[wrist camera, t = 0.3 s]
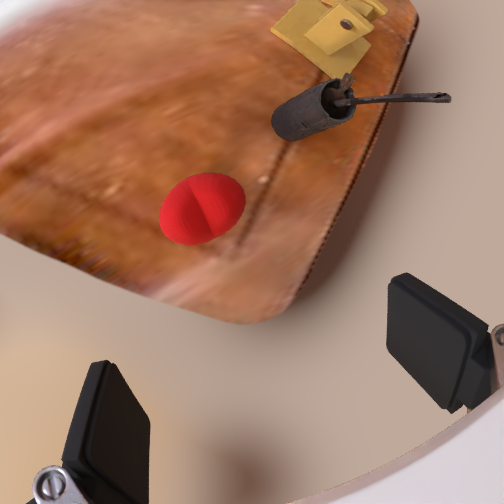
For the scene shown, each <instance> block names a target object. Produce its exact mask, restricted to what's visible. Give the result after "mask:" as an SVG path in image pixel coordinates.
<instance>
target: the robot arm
mask: <svg viewBox="0 0 504 504" xmlns="http://www.w3.org/2000/svg"><path fill="white" fill-rule="evenodd" d="M488 326H489V325H487V324H486V323H485V322H483V321H482V320H481V319H479V318H478V317H476V316H475V315H473V314H472V313H470V312H469V311H467V310H466V309H464V308H463V307H461V306H460V305H458V304H457V303H455V302H454V301H452V300H450V299H449V298H447V297H446V296H444V295H443V294H441V293H440V292H438V291H437V290H435V289H433V288H432V287H430V286H429V285H427V284H425V283H424V282H422V281H421V280H419V279H417V278H416V277H414V276H412V275H411V274H409V273H403V274H401V275H398V276H395V277H393V278H392V279H391V283H389V285H388V313H387V341H386V346H387V349H388V351H389V353H390V354H391V355H392V356H393V357H394V358H395V359H396V360H397V361H398V362H399V363H400V364H401V365H402V366H403V368H404V369H405V370H406V371H407V372H408V373H409V374H410V375H411V376H412V377H413V378H414V379H415V380H416V381H417V383H418V384H419V385H420V386H421V387H422V388H423V389H424V390H425V391H426V392H427V393H428V394H429V395H430V396H431V397H432V399H433V400H434V401H435V402H436V403H437V404H438V405H439V406H440V407H441V408H442V409H447V410H448V411H449V412H450V413H451V414H452V413H454V412H455V411H457V410H458V409H459V408H461V407H462V406H463V404H464V405H465V406H466V407H467V414H466V415H465V416H464V417H462V418H461V419H459V420H458V421H457V422H455V423H454V424H452V425H451V426H449V427H448V428H447V429H445V430H444V431H442V432H441V433H439V434H437V435H436V436H435V437H433V438H431V439H430V440H428V441H426V442H425V443H423V444H422V445H420V446H418V447H416V448H415V449H413V450H411V451H409V452H408V453H406V454H404V455H402V456H400V457H399V458H397V459H395V460H393V461H391V462H389V463H387V464H385V465H383V466H381V467H379V468H377V469H375V470H373V471H371V472H369V473H367V474H364V475H362V476H360V477H358V478H355V479H353V480H351V481H348V482H346V483H344V484H341V485H339V486H336V487H334V488H331V489H328V490H326V491H323V492H320V493H318V494H315V495H312V496H309V497H306V498H303V499H299V500H296V501H293V502H290V503H286V504H504V324H500V325H498V326H496V327H495V328H494V329H493V330H492V332H491V334H490V333H489V332H487V330H488ZM149 447H150V421H149V418H148V416H147V414H146V413H145V411H144V410H143V408H142V407H141V405H140V404H139V402H138V401H137V399H136V398H135V396H134V394H133V393H132V391H131V389H130V388H129V386H128V384H127V383H126V381H125V379H124V378H123V376H122V374H121V373H120V371H119V369H118V367H117V366H116V365H115V364H114V363H112V364H111V363H110V362H109V361H108V360H104V361H99V362H93V363H91V365H90V368H89V370H88V373H87V376H86V379H85V382H84V385H83V387H82V391H81V393H80V397H79V400H78V403H77V406H76V409H75V412H74V416H73V419H72V422H71V425H70V429H69V433H68V436H67V440H66V443H65V448H64V451H63V455H62V459H61V460H62V461H63V464H62V467H60V466H55V465H53V466H48V467H45V468H43V469H42V470H41V471H40V472H38V473H37V475H36V476H35V478H34V481H33V485H32V491H33V494H34V498H33V499H32V500H30V501H29V502H28V503H26V504H149Z"/></svg>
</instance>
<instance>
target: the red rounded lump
mask: <svg viewBox="0 0 504 504" xmlns="http://www.w3.org/2000/svg"><path fill="white" fill-rule="evenodd" d="M244 207H245V193H244V190H243V188H242V187H241V185H240V184H239V183H238V182H237V181H236V180H234V179H233V178H231V177H229V176H226V175H223V174H218V173H202V174H197V175H193V176H191V177H188V178H186V179H185V180H183V181H181V182H180V183H179V184H178V185H176V186H175V187H174V188H173V189H172V190H171V191H170V193H169V194H168V195H167V197H166V198H165V200H164V202H163V204H162V207H161V209H160V215H159V223H160V227H161V230H162V232H163V233H164V234H165V236H166V237H168V238H169V239H170V240H172V241H174V242H176V243H179V244H183V245H196V244H202V243H205V242H208V241H210V240H212V239H214V238H216V237H218V236H220V235H222V234H224V233H226V232H227V231H228V230H230V229H231V228H232V227H233V226H234V225H235V224H236V223H237V221H238V220H239V219H240V217H241V215H242V213H243V211H244Z"/></svg>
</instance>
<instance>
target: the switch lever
mask: <svg viewBox="0 0 504 504" xmlns="http://www.w3.org/2000/svg"><path fill="white" fill-rule="evenodd" d="M320 1H322V2H325V3H327V4H329V5H331V6H334V7H336V6H337V5H338V4H339V3H341V2H342V1H345V0H320ZM345 2H346V3H348V4H349V5H350V6H351V7H352V8H354V9H355V10H356V11H357V12H358V13H359V14H361V15H362V16H363V17H364V18H365V19H366V20H367V21H370V19H371V16H372V13H373V9H374V7H372V6H370V5H368V4H366V3H364V2H362V1H360V0H348V1H345Z"/></svg>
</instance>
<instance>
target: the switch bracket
mask: <svg viewBox="0 0 504 504" xmlns="http://www.w3.org/2000/svg"><path fill="white" fill-rule="evenodd" d="M345 1H348V0H345ZM345 1H342V2H341V3H339V4H338V5H337V6H336V7H334V6H332V7H331V8H330V9H329V8H328V7H326V6H325V5H324V4H322V3H321V2H320V1H318V0H299V1H298V2H297V3H296V4H295V5H294V6H293V7H292V8H291V9H290V10H289V11H288V12H287V13H286V14H285V15H284V16H283V17H282V18H281V19H280V20H279V21H278V22H277V23H276V24H275V25H274V26H273V27H272V28H271V30H270V31H271V32H272V33H274V34H275V35H276V36H278V37H279V38H281V39H282V40H284V41H285V42H286V43H288V44H289V45H290V46H292V47H293V48H294V49H296V50H297V51H298V52H300V53H301V54H302V55H304V56H305V57H306V58H307V59H309V60H310V61H311V62H313V63H314V64H315V65H316V66H317V67H319V68H320V69H321V70H322V71H324V72H325V73H326V74H327V75H328V76H329V77H331V78H332V79H335V78H340V79H341V80H342V78H343V76H344V74H345V73H348V74H350V73H351V72H352V70H353V69H354V68H355V66H356V65H357V64H358V62H359V61H360V60H361V59H362V57H363V56H364V55H365V53H366V52H367V51H368V49H369V48H370V47H371V44H370V43H369V42H368V41H367V40H366V39H364V38H363V37H362V36H364V35H366V34H368V33H370V32H371V31H372V30H373V29H374V26H373V25H372V24H371V23H370V22H372V21H374V20H376V19H377V18H379V17H381V16H383V15H385V14H386V13H387V12H388V9H387V8H386V7H385V6H384V5H383V4H382V3H381V2H380V1H378V0H360V1H362V2H364V3H366V4H368V5H370V6H372V7H374V9H373V13H372V16H371V19H370V21H367V20H366V19H365V18H364V17H363V16H362V15H361V14H359V13H358V12H357V11H356V10H355V9H354V8H352V7H351V6H350V5H349V4H348V3H346V2H345Z"/></svg>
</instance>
